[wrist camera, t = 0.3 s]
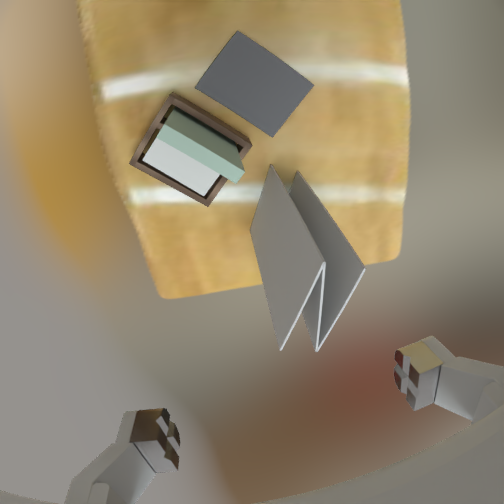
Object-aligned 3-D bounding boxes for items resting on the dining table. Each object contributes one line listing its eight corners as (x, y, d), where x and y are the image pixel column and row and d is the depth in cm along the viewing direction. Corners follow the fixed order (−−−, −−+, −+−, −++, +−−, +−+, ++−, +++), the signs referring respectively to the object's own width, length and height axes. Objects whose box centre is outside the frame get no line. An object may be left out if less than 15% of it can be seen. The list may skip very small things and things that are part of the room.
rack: (172, 91, 47) (169, 95, 43) (248, 138, 54) (252, 145, 50) (134, 154, 53) (128, 163, 49) (207, 195, 59) (208, 206, 55)
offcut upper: (160, 130, 49) (158, 134, 46) (220, 166, 54) (221, 173, 51) (145, 154, 50) (142, 160, 48) (203, 189, 56) (203, 196, 53)
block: (175, 105, 49) (164, 124, 36) (234, 140, 54) (244, 171, 41) (169, 115, 50) (156, 137, 37) (228, 149, 55) (236, 183, 42)
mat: (237, 31, 43) (237, 30, 42) (313, 84, 50) (314, 85, 49) (194, 87, 48) (194, 87, 47) (271, 136, 54) (272, 137, 54)
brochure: (275, 235, 66) (317, 352, 42) (249, 230, 65) (279, 350, 40) (298, 171, 59) (366, 268, 34) (270, 164, 57) (323, 261, 33)
